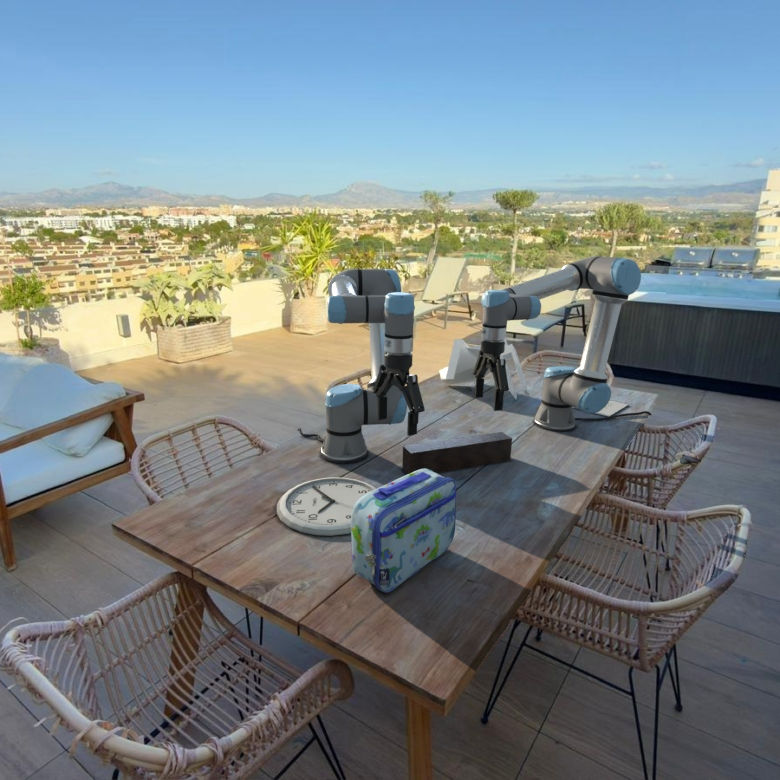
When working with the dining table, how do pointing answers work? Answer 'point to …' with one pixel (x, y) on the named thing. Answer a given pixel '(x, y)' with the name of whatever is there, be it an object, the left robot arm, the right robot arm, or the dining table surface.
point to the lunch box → (402, 527)
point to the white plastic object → (466, 360)
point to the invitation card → (611, 408)
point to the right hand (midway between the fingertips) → (487, 403)
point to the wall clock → (322, 505)
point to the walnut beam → (457, 453)
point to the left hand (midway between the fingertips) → (396, 426)
